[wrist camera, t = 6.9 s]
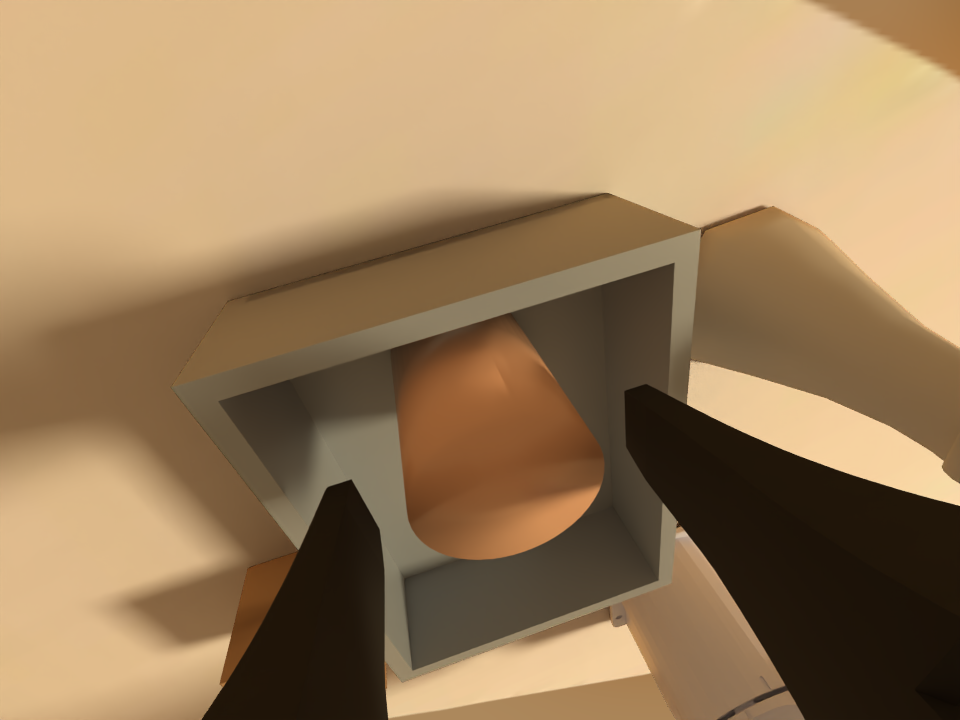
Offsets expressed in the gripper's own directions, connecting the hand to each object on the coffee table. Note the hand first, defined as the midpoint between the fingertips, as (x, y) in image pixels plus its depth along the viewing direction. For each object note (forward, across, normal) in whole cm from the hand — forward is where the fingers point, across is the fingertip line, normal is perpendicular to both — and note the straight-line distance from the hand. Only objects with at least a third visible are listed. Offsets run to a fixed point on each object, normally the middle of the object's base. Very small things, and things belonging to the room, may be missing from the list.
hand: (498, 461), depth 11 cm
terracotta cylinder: (+6, 0, 0) cm, 6 cm away
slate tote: (+7, 0, +5) cm, 8 cm away
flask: (+7, -12, +2) cm, 14 cm away
